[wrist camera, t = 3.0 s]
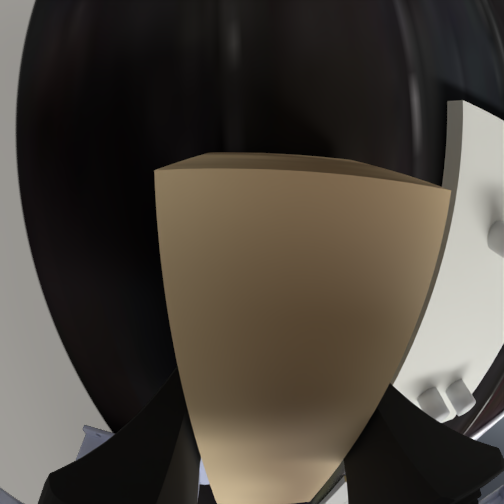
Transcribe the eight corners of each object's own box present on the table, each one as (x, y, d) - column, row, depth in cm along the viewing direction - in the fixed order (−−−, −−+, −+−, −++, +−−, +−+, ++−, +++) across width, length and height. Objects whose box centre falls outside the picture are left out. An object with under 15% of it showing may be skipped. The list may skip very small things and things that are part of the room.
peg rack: (352, 434, 15) (362, 469, 12) (447, 101, 7) (499, 99, 5) (448, 410, 15) (461, 435, 12) (544, 152, 8) (580, 164, 5)
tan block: (222, 427, 13) (217, 503, 9) (209, 152, 8) (154, 169, 3) (299, 427, 13) (309, 501, 9) (350, 159, 8) (451, 190, 3)
